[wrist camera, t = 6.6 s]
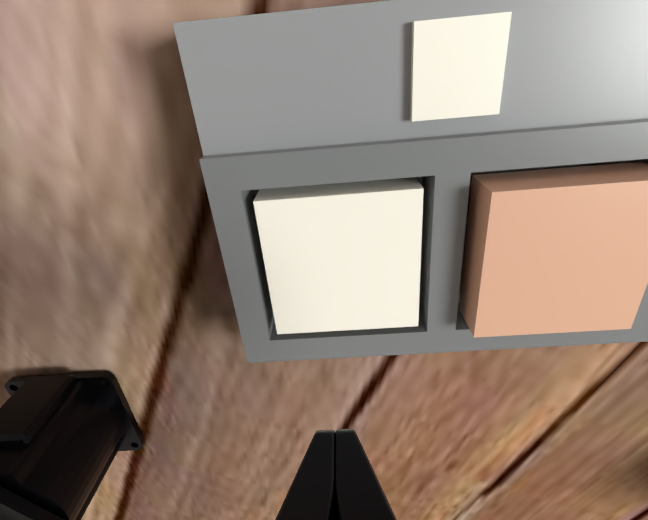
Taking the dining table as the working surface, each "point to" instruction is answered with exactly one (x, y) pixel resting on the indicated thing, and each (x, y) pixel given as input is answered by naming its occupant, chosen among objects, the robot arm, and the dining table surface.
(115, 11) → the dining table surface
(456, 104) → the keypad
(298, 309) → the ivory key
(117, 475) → the dining table surface
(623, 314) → the terracotta key
